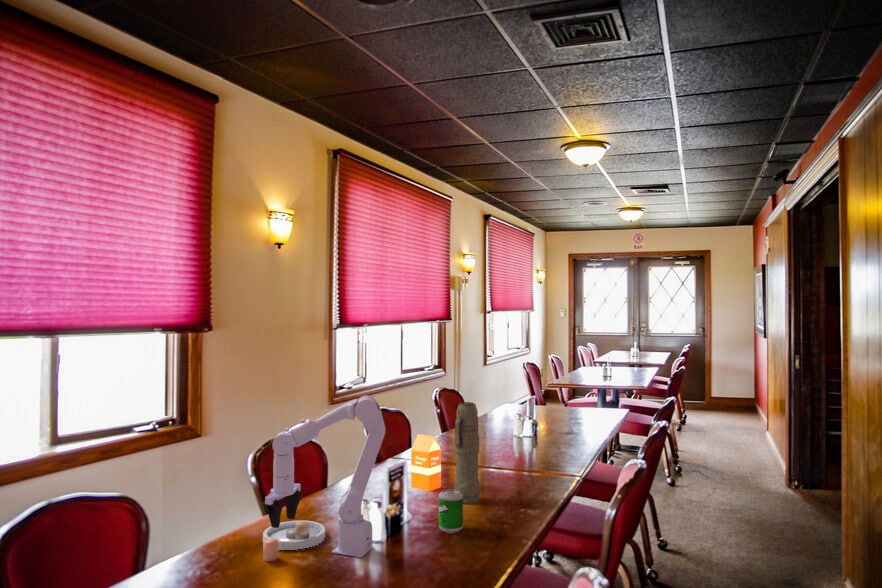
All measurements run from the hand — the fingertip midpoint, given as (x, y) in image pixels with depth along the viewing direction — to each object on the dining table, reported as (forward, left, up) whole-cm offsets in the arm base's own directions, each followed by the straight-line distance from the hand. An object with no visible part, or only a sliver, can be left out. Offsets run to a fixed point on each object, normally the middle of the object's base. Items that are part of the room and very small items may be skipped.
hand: (283, 522), depth 180 cm
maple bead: (-2, -8, -8) cm, 11 cm away
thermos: (-35, -63, -9) cm, 73 cm away
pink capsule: (+1, +5, -9) cm, 10 cm away
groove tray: (+3, -10, -9) cm, 14 cm away
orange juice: (-15, -74, -9) cm, 76 cm away
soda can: (-39, -33, -9) cm, 52 cm away
